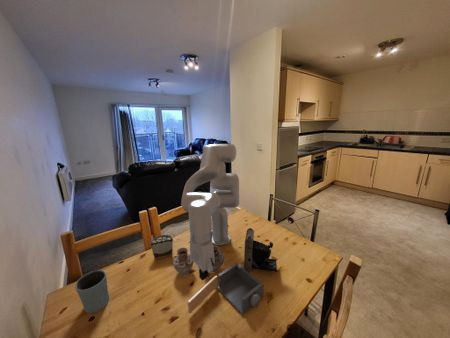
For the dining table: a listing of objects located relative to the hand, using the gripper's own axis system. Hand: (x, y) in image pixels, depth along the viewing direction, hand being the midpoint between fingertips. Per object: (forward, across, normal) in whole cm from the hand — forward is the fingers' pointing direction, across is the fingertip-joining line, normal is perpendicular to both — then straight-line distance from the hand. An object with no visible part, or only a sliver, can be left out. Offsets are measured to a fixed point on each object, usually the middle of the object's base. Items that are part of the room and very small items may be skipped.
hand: (204, 277), depth 72 cm
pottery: (+15, -18, +8) cm, 25 cm away
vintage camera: (+15, +1, +32) cm, 35 cm away
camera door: (+13, -3, +1) cm, 14 cm away
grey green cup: (+15, -30, -34) cm, 48 cm away
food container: (+15, -42, 0) cm, 45 cm away
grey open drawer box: (+15, +5, +15) cm, 21 cm away
